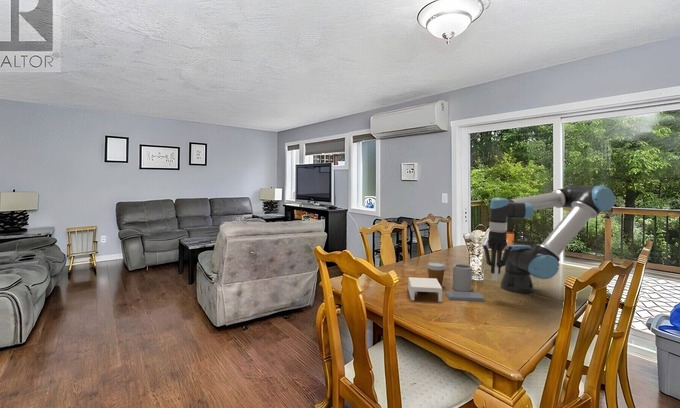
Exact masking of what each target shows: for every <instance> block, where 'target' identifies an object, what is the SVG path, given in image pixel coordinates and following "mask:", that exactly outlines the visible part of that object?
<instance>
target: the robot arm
mask: <svg viewBox="0 0 680 408" xmlns="http://www.w3.org/2000/svg"><path fill="white" fill-rule="evenodd" d="M615 201H616V199H615V194H614V192H613V191H612V190H611V188H609V187H608V186H603V185H602V186H601V185H593V186H592V185H573V186H569V187H565V188H559V189H555V190H552V192H548V193H541V194H536V195H535V194H534V195H530V196H524V197H517V198H512V199H508V198H505V197H504V198H503V197H494V198H492V199H491V200H490V205H489V208H490V209H489V224H488V225H489V227H488V228H489V231H488V240H487V242H486V243H485V244H482V248H483V250H484V255H485V261H486V264H487V265H488V266H490V273H491V274H492V276H491V278H492V281H494V282H498V281H499V274H501V268H502V267H504V274H503V275H502V278H501V281H500V287H501V289H504V290H506V291H508V292H513V293H518V294H519V293H520V294H529V293H533V292H534V283H533V280H532V278H531V276H532V277H534V278H537V279H541V280H548V279H551V278H553V277H554V276H555V275H557V273H558V272H559V270H560V268H559V267H560V260H561V258H560V255H561V254H562V252H563V251H564V250H565V249H566V248H567V247H568V245H569V244H570V243H571V242H572V241H573V240H574V238H575V237H576V236H577V234H579V232H580V231H581V230H582V229H583V228H584V227H585V225H586V224H587V222H589V221H590V219H595V218H597V217H598V216H599V214H600V213H601V212H608V211H611V209H613V207H614V205H615ZM550 208H557V209H561V208H570V210H569V211H568V212H567V213H566V215H565V216H564V217H563V218H562V219H561V220H560V222H558V223H557V225H556V226H555V227H554V229H553V230H552V231H551V232H550V234H549V235H547V237H546V238H545V239H544V240H543V242H542V243H541V244H538V243H537V244H535V245H534V246H533V247H532V245H527V244H508V242H507V238H508V233H507V231H508V219H509V220H510V219H514V220H515V219H522V220H526V219H531V218H532V217H533V215H534V211H537V210H543V209H550ZM489 248H490V249H491V250H490V251H491V253H490V251H489ZM503 250H504V251H503ZM490 254H491V255H490Z"/></svg>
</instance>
